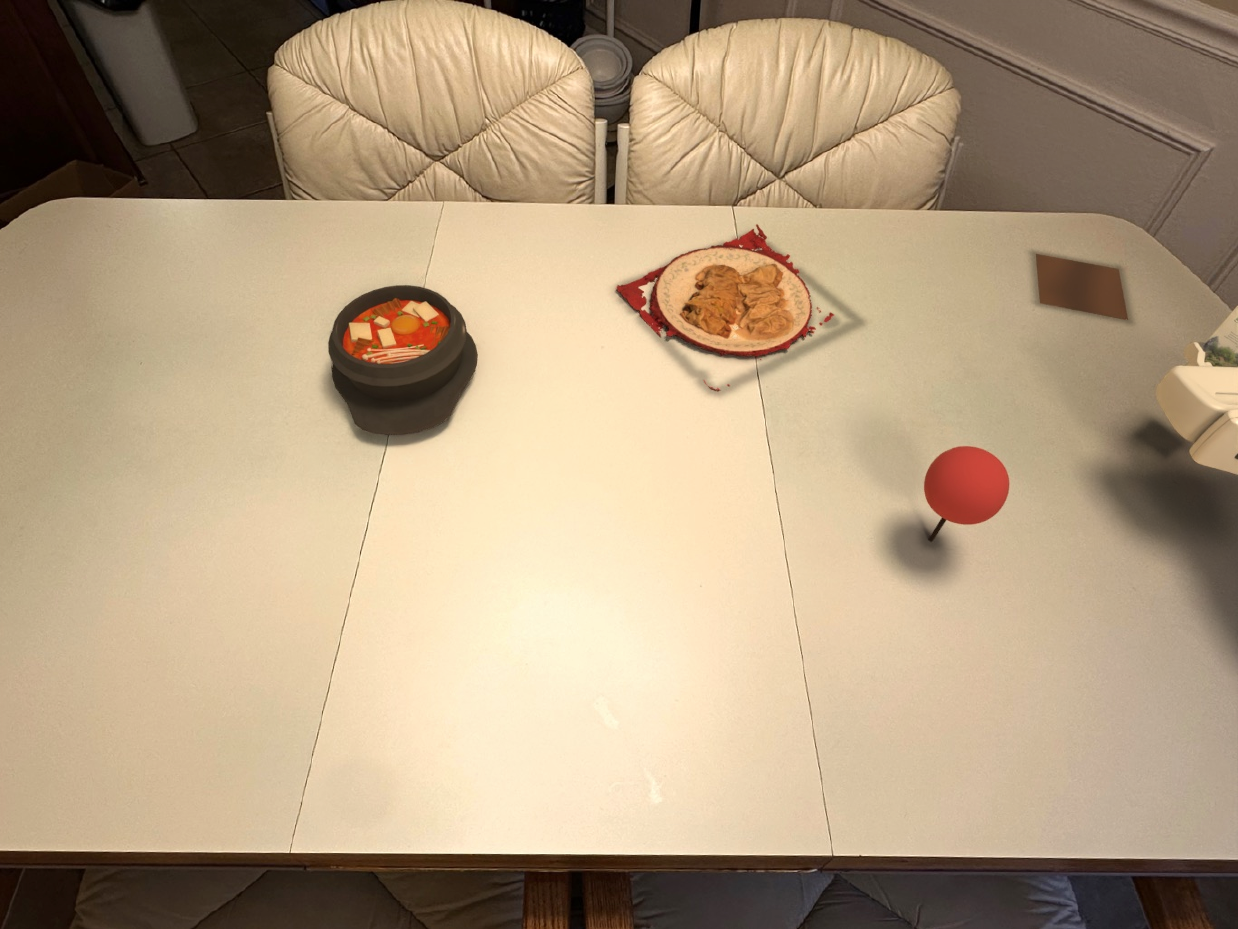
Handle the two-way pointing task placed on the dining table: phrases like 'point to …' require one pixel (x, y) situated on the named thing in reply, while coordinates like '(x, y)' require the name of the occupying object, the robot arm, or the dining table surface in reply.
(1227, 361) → the syrup box
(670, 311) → the plate with food
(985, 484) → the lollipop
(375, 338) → the casserole
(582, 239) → the dining table surface
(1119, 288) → the stand
